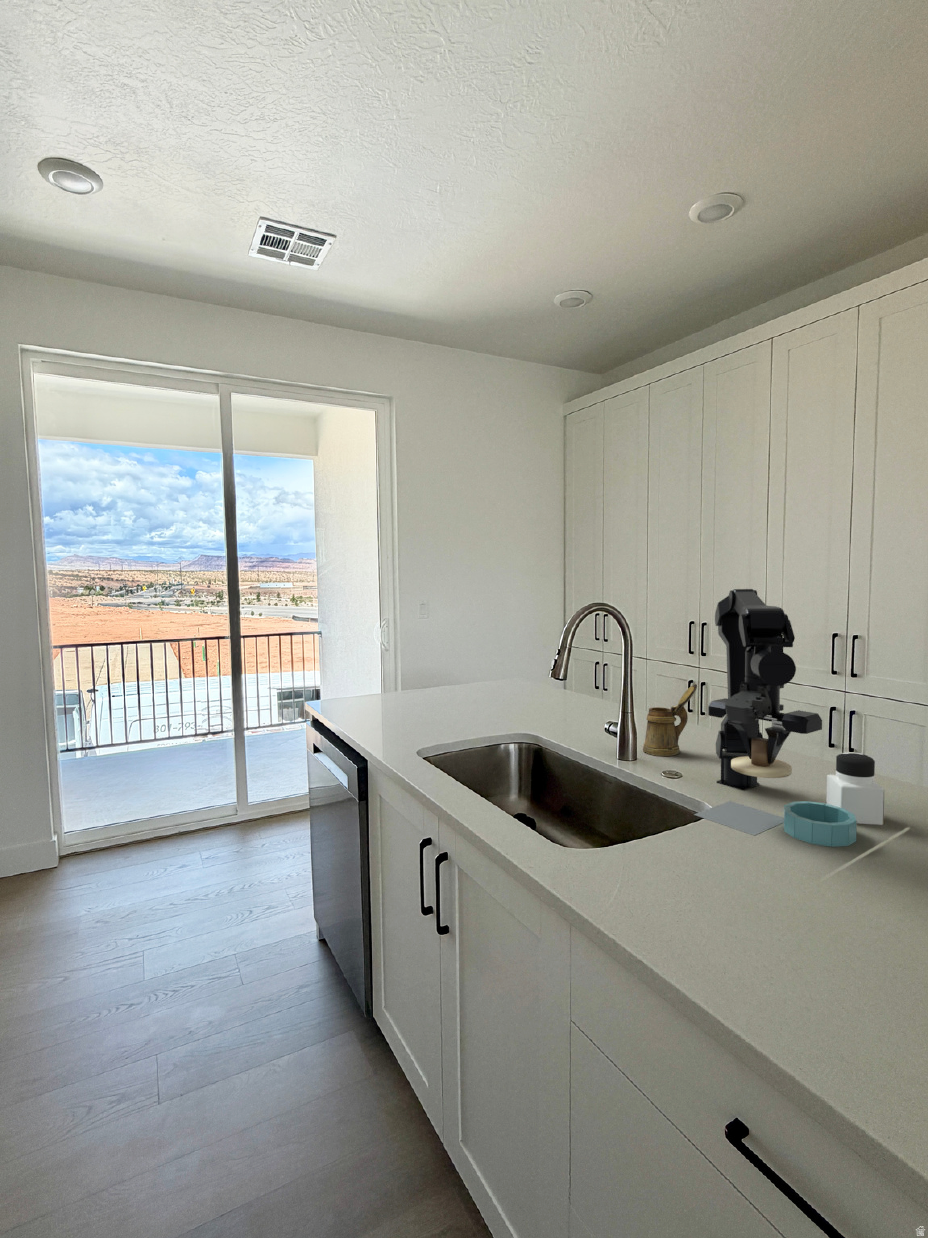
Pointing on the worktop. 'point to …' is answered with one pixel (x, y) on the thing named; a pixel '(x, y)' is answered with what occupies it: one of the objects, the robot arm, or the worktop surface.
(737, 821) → the mat
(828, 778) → the medicine bottle
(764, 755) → the lid
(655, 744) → the wooden mug
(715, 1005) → the worktop surface
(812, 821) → the bowl
